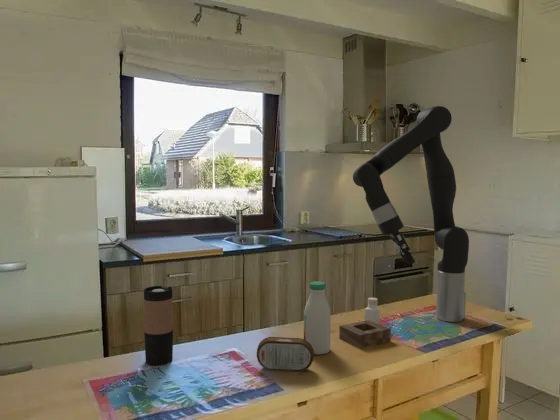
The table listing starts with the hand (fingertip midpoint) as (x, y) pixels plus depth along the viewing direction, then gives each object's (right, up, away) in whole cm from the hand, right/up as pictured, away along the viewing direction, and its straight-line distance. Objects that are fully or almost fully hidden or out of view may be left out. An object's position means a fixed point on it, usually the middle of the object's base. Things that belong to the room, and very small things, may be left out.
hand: (409, 262), depth 155 cm
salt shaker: (-12, -22, +4) cm, 25 cm away
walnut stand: (-17, -23, -9) cm, 30 cm away
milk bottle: (-32, -24, -18) cm, 44 cm away
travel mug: (-76, -24, -27) cm, 84 cm away
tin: (-42, -25, -32) cm, 58 cm away
